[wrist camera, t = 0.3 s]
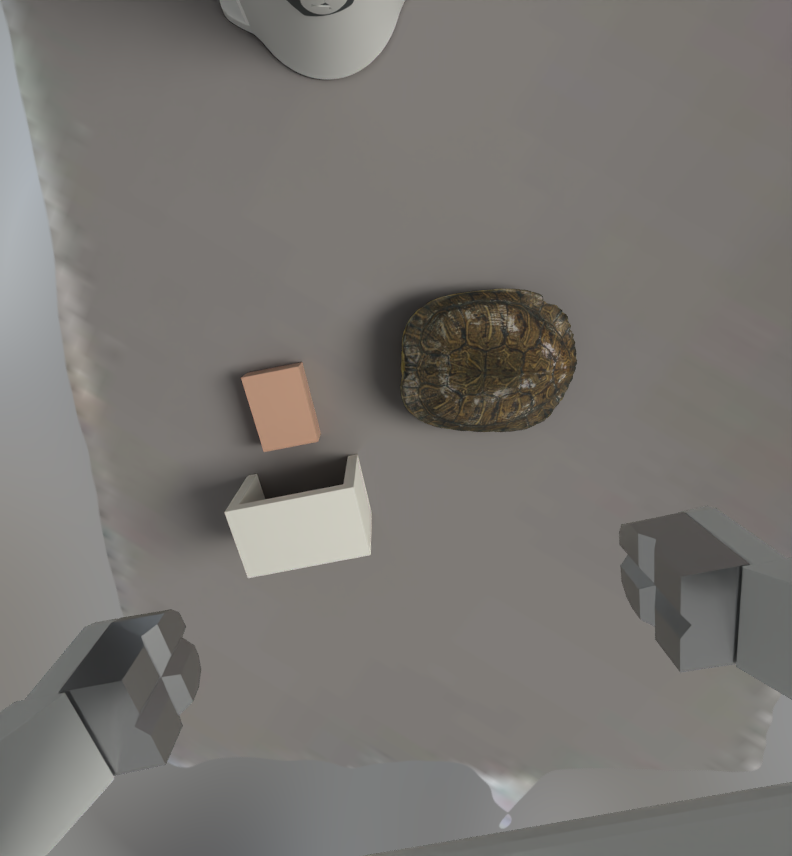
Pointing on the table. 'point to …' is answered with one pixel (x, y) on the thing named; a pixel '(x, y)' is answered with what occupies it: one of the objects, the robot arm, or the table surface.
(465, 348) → the turtle shell
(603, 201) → the table surface
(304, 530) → the white storage bin
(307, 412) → the tan rectangular block
